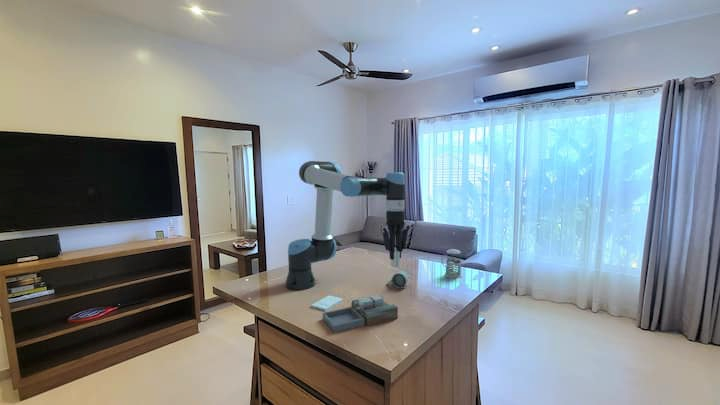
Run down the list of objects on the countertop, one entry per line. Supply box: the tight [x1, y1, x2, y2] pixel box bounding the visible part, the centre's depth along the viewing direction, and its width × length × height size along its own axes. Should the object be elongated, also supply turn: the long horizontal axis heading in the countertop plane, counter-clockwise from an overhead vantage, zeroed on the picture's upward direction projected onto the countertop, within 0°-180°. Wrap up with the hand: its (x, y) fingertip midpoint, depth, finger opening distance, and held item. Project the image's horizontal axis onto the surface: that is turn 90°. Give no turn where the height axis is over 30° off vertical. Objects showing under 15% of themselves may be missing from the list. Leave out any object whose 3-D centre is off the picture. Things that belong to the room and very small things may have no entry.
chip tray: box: [322, 306, 366, 333], centre depth 113 cm, size 12×12×2 cm
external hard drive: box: [310, 294, 344, 312], centre depth 130 cm, size 2×8×12 cm
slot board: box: [350, 295, 399, 327], centre depth 119 cm, size 14×14×4 cm
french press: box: [440, 231, 463, 279], centre depth 167 cm, size 10×12×25 cm
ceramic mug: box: [386, 270, 409, 289], centre depth 152 cm, size 11×8×8 cm
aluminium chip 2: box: [369, 294, 384, 309], centre depth 119 cm, size 4×4×4 cm
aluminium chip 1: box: [358, 296, 373, 311], centre depth 117 cm, size 4×4×4 cm
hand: (395, 266), depth 122 cm, fingers closed
